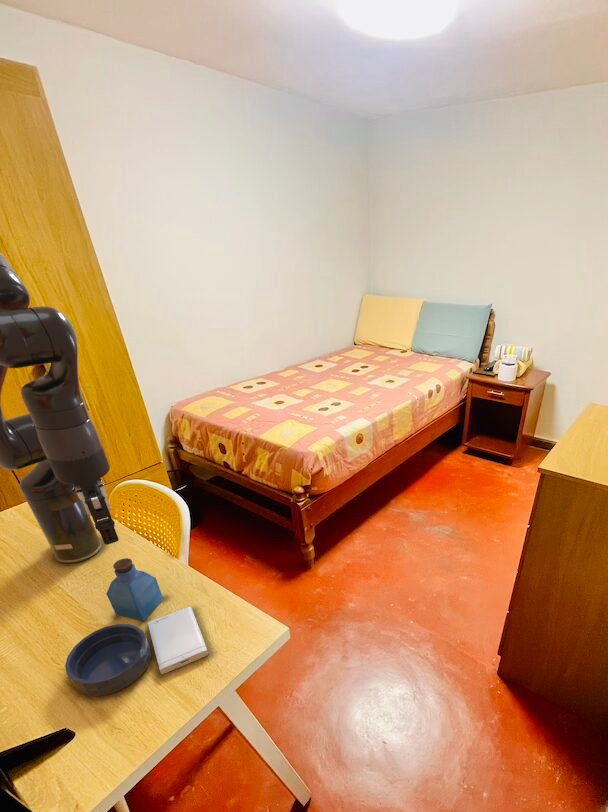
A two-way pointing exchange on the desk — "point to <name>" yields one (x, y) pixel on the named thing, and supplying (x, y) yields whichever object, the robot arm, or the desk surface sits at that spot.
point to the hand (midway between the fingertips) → (106, 529)
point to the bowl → (108, 659)
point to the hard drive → (177, 640)
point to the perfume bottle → (133, 591)
